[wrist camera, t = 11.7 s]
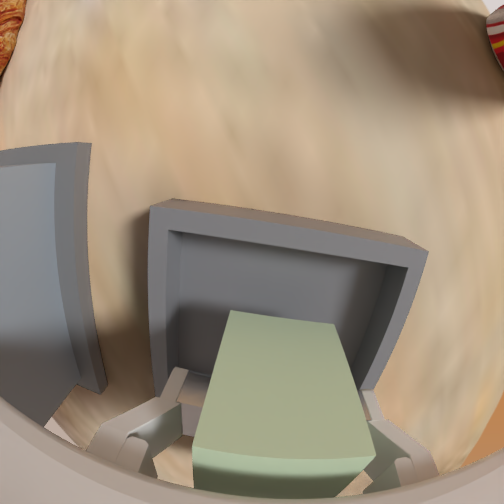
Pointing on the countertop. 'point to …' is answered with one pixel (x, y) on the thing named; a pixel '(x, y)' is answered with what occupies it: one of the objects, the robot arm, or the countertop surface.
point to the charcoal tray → (273, 282)
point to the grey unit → (46, 279)
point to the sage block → (280, 413)
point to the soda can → (497, 34)
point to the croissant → (9, 27)
